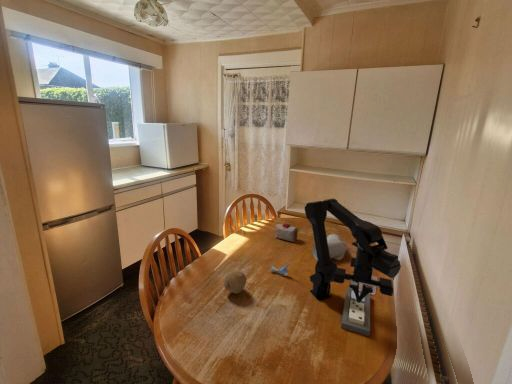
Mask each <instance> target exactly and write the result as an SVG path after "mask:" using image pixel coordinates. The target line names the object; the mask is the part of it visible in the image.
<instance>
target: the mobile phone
mask: <svg viewBox="0 0 512 384" xmlns="http://www.w3.org/2000/svg"><path fill="white" fill-rule="evenodd" d="M372 279H373V280H376V281H378V277H377V276H375V275H372ZM362 286H363V284H362V283H359V291H361V289H362ZM376 291H377V287H373V293H370V295H373V296H374V295H376Z"/></svg>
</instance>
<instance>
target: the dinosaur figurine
mask: <svg viewBox="0 0 512 384" xmlns="http://www.w3.org/2000/svg"><path fill="white" fill-rule="evenodd" d="M292 260H293V259H291V260H290V261H289V262H288V263H287V264H286V265H285V266H283V267H280V269H278V268H277V267H275V265H271V267H270V268H269V270H270V271H271V272H272V273H274V272H276V273H278V274H280V275H281V276H283V277H286V276H288V275H289V273H288V272H289V271H290V270H289V269H287V268H288V266H289V265H290V263H291V262H292Z"/></svg>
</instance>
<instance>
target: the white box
mask: <svg viewBox="0 0 512 384" xmlns="http://www.w3.org/2000/svg"><path fill="white" fill-rule="evenodd" d="M298 232H299V228H298V227H296V226H292V225H291V224H289V222H287V223H286V222H285V223H283V224H282V223H278V224H276V225H275V236H274V237H275V238H276V239H279V240H284V241H288V242H290V243H295V242H296V241H297V240H298Z"/></svg>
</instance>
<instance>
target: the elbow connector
mask: <svg viewBox="0 0 512 384" xmlns="http://www.w3.org/2000/svg"><path fill="white" fill-rule="evenodd" d="M327 242H328V248H329V254H330V259H331V260H332V259H334V260H337V261H340V260H342V259H344V257H345V252H346V251H347V244H346V243H345V242H344V241H342V240H341V237H340V236H339V235H338V234H336V233H332V234H331V233H330V234H329V235H327ZM311 252H312V256H313V258H314V259H315V260H316V261H317V260H318V259H317V253H316V247H315V244H313V245H312V251H311Z"/></svg>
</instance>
